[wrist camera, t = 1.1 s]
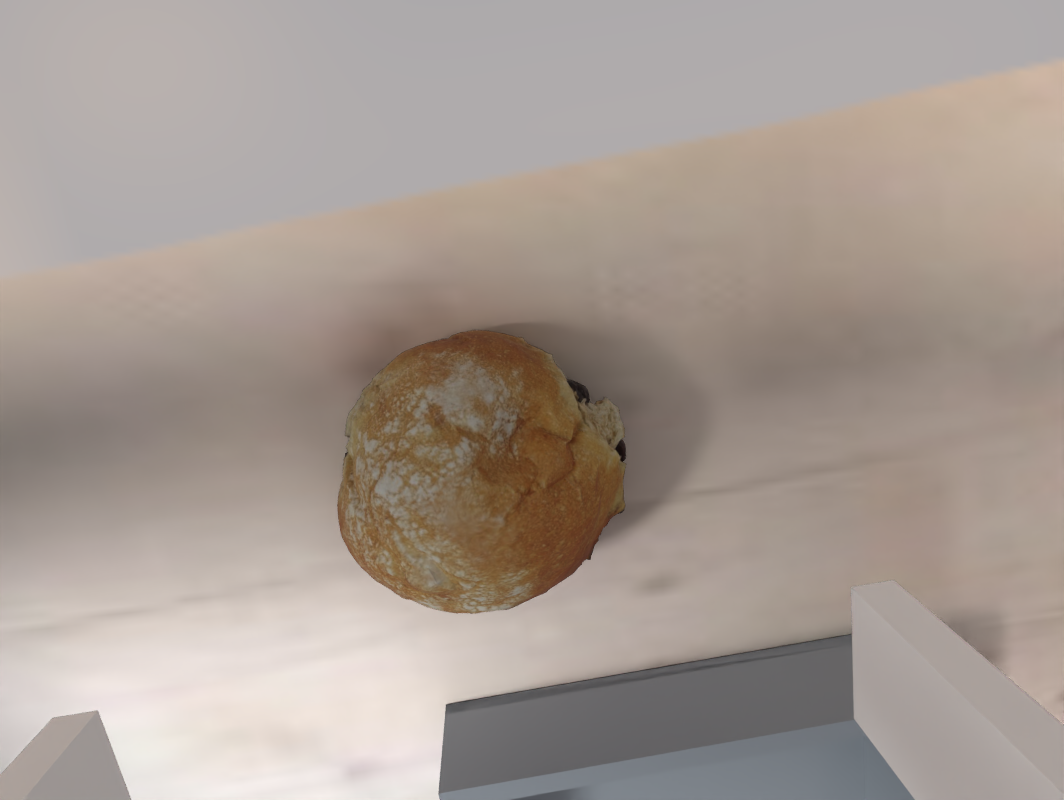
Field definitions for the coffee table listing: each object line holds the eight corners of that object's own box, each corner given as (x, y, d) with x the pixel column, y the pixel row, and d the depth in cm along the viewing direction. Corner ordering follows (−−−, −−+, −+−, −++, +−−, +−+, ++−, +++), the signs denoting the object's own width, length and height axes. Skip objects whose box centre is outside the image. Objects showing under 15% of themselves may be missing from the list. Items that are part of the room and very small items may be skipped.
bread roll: (413, 309, 27) (273, 324, 19) (658, 342, 23) (599, 376, 16) (403, 527, 29) (275, 615, 22) (624, 587, 26) (560, 715, 18)
